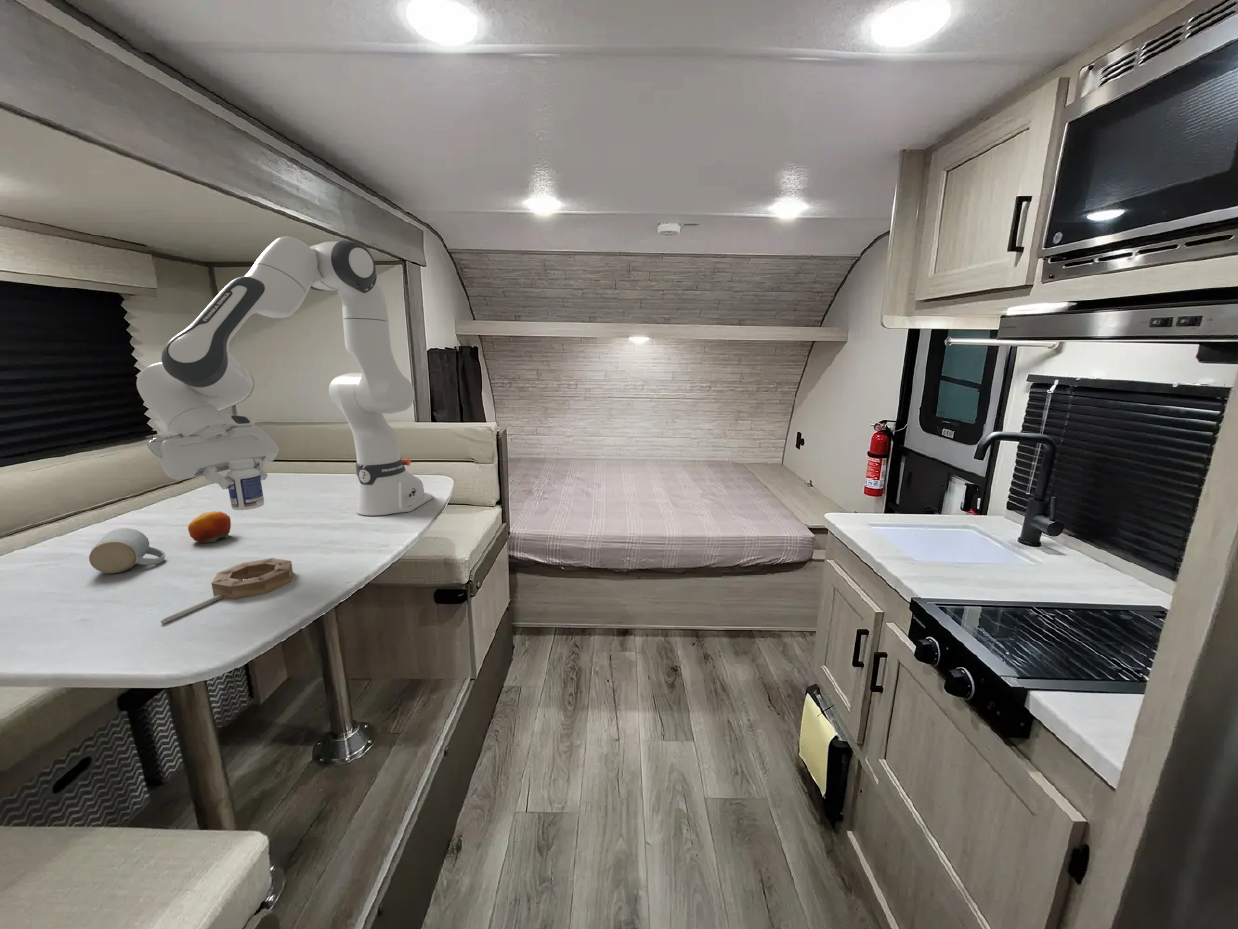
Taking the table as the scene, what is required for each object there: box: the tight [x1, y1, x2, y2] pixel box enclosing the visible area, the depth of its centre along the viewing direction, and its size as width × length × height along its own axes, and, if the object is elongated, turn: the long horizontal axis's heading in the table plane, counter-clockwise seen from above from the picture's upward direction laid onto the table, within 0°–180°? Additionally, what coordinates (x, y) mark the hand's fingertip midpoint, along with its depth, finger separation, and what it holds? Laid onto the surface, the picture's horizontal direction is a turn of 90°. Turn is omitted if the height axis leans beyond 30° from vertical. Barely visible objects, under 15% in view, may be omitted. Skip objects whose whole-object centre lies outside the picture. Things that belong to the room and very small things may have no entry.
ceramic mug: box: [88, 527, 166, 574], centre depth 103 cm, size 11×8×8 cm
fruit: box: [187, 510, 232, 544], centre depth 119 cm, size 8×8×8 cm
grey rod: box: [160, 595, 223, 625], centre depth 86 cm, size 9×1×1 cm, turn 164°
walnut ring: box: [211, 557, 294, 600], centre depth 96 cm, size 12×12×2 cm
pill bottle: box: [225, 459, 265, 511], centre depth 99 cm, size 5×5×10 cm
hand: (246, 482), depth 99 cm, fingers closed on pill bottle, 5 cm apart
